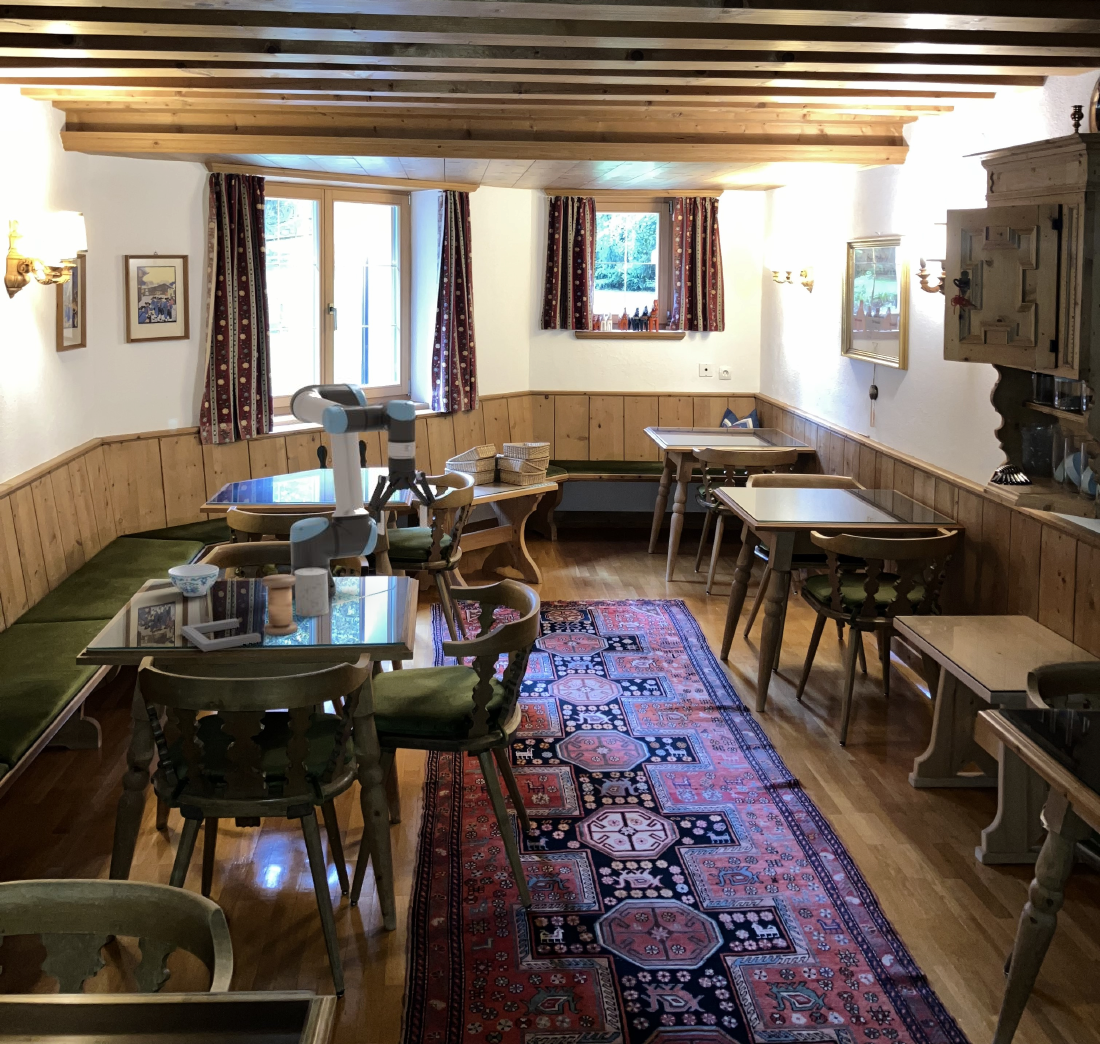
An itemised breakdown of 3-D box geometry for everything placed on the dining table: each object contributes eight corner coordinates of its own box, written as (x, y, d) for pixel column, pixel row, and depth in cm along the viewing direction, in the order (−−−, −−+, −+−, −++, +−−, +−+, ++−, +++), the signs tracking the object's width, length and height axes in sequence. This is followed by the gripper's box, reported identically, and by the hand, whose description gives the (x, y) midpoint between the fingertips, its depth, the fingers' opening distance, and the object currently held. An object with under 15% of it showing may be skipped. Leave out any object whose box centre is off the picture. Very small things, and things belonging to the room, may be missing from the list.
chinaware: (200, 602, 351) (198, 577, 349) (159, 597, 356) (157, 572, 355) (229, 590, 365) (228, 566, 363) (190, 585, 370) (188, 562, 368)
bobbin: (259, 629, 324) (257, 577, 321) (289, 624, 329) (288, 572, 326) (271, 637, 316) (269, 583, 314) (302, 632, 322) (300, 579, 319)
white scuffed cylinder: (335, 610, 344) (334, 569, 341) (315, 618, 335) (314, 576, 333) (308, 606, 348) (307, 566, 345) (289, 614, 339) (287, 573, 337)
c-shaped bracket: (181, 633, 319) (180, 626, 318) (235, 625, 327) (235, 618, 327) (204, 651, 303) (203, 644, 303) (261, 642, 312) (260, 634, 312)
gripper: (367, 462, 312) (368, 538, 316) (447, 454, 326) (447, 528, 331) (354, 458, 318) (356, 533, 322) (433, 451, 332) (433, 523, 337)
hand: (402, 531), depth 327 cm, fingers open, 13 cm apart
